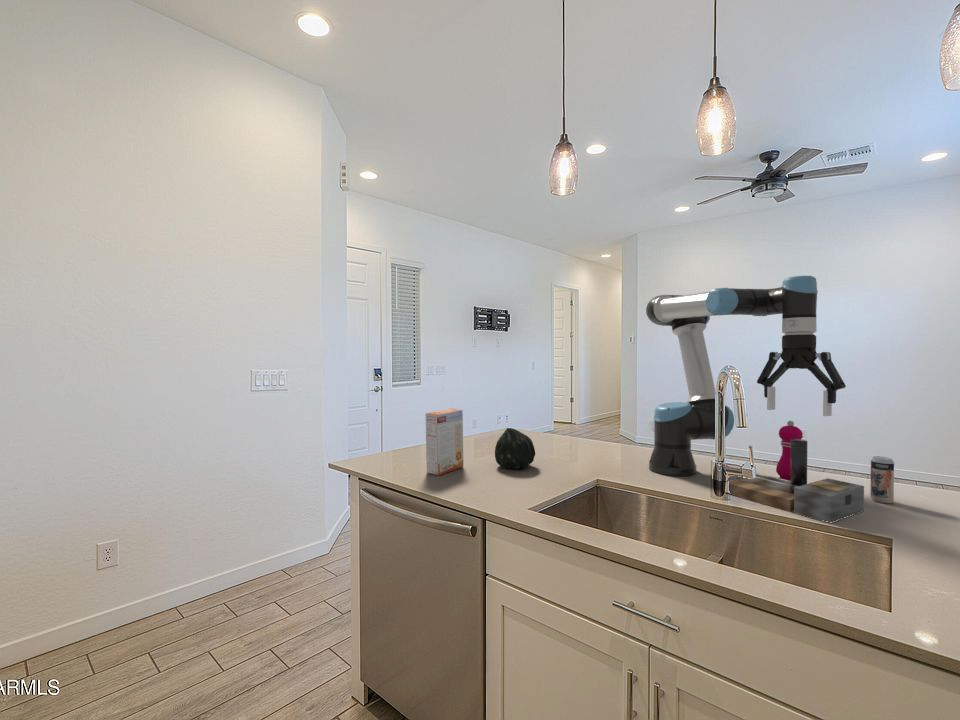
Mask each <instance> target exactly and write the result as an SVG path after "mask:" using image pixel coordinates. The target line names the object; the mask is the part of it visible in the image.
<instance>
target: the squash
mask: <svg viewBox="0 0 960 720" xmlns="http://www.w3.org/2000/svg"><path fill="white" fill-rule="evenodd" d="M494 457H495V461H496V464H498V465H499V466H500V467H502V468H505V469H507V470H509V469H512V468H513V469H514V470H519V469H526V468H528V467H529V465H530V464H532V463H533V462H534V461H535V457H536V450H535V445H534V442H533V441H532V439H531V438H530V437H529V436H528V435H527V434H525V433H523V432H521V431H519V430H517V429H515V428H512V427H506V429H505V430H504V432H503V433H502V434H501V435H500V437H499V438H498V440H497V441H496V444H495V449H494Z"/></svg>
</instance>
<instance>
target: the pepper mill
mask: <svg viewBox="0 0 960 720" xmlns="http://www.w3.org/2000/svg"><path fill="white" fill-rule="evenodd" d="M786 424H787V425H783V426H782V427H780V428H779V430H778V437H779V438H780V439H781V440H780V445H781V449H782V450H781V451H782V453H781V456H780V458H779V460H778V462H777V464H776V466H775V467H776V468H775V472H776V474H778V476H779V477H778V478H780V479H784V480H788V481H791V439H800V440H803V435H804V434H803V432H802V430H801V429H800V428H799V427H798V426H796V425H795V422H794V421H793V420H788V421H787V422H786Z"/></svg>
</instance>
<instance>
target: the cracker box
mask: <svg viewBox="0 0 960 720" xmlns="http://www.w3.org/2000/svg"><path fill="white" fill-rule="evenodd" d="M463 411H464V410H463V409H456V408H450V409H449V408H448V409H443V410H439V411H433V412H427V413H425V445H426V446H425V449H426V451H425V452H426V453H425V455H426V458H425V459H426V473H427V475H428V474H429V475H435V476H441V475H445V474H447V473H450V472H452V471H455V470H457V469H460V468H463V467H464V423H463V422H464V421H463V420H464V419H463V417H464V415H463Z"/></svg>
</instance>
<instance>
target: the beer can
mask: <svg viewBox="0 0 960 720" xmlns="http://www.w3.org/2000/svg"><path fill="white" fill-rule="evenodd" d="M894 480H895V462H894V460H893V459H892V458H891V457H888V456H887V457H886V456H879V455H878V456H877V455H874V456H872V457H871V459H870V493H869V494H870V496H869V498H870V499H871V500H872V501H874V502H875V503H880V504H887V505H888V504H892V503H894V502H895V501H894V495H895V493H894V492H895V491H894V490H895V489H894V488H895V483H894V482H895V481H894Z"/></svg>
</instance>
